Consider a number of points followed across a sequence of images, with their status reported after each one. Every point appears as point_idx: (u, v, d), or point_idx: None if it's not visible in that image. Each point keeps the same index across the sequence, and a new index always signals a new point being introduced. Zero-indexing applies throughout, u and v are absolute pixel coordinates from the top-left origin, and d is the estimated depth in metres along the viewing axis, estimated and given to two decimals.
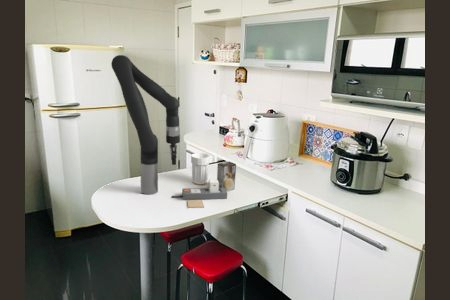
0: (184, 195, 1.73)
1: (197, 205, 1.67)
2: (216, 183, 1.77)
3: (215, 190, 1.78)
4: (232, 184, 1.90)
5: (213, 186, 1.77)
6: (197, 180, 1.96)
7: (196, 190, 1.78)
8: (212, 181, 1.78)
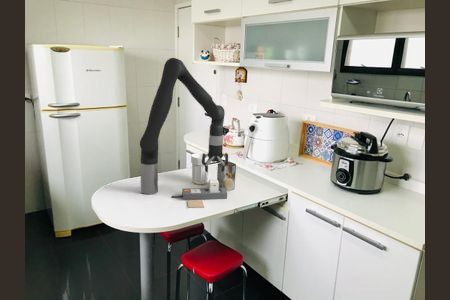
0: (184, 195, 1.73)
1: (197, 205, 1.67)
2: (216, 183, 1.77)
3: (215, 190, 1.78)
4: (232, 184, 1.90)
5: (213, 186, 1.77)
6: (197, 180, 1.96)
7: (196, 190, 1.78)
8: (212, 181, 1.78)
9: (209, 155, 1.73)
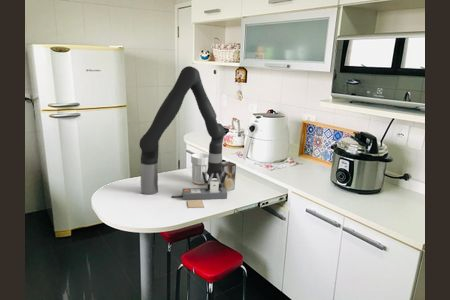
0: (184, 195, 1.73)
1: (197, 205, 1.67)
2: (216, 183, 1.77)
3: (215, 190, 1.78)
4: (232, 184, 1.90)
5: (213, 186, 1.77)
6: (197, 180, 1.96)
7: (196, 190, 1.78)
8: (212, 181, 1.78)
9: (208, 172, 1.75)
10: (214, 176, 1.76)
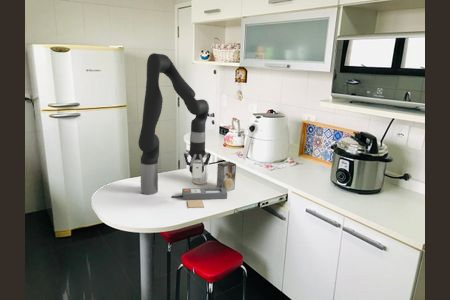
0: (184, 195, 1.73)
1: (197, 205, 1.67)
2: (199, 165, 1.62)
3: (199, 173, 1.63)
4: (232, 184, 1.90)
5: (196, 168, 1.62)
6: (197, 180, 1.96)
7: (196, 190, 1.78)
8: (195, 163, 1.63)
9: (190, 153, 1.60)
10: (197, 157, 1.62)
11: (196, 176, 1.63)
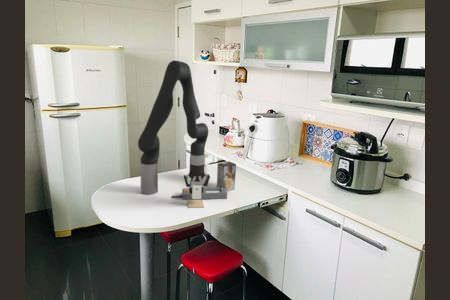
0: (184, 195, 1.73)
1: (197, 205, 1.67)
2: (199, 187, 1.65)
3: (198, 195, 1.66)
4: (232, 184, 1.90)
5: (195, 190, 1.65)
6: None
7: None
8: (194, 185, 1.66)
9: (190, 175, 1.64)
10: (196, 179, 1.65)
11: (196, 197, 1.66)
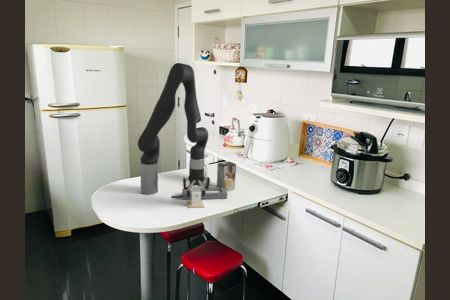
0: (184, 195, 1.73)
1: (197, 205, 1.67)
2: (198, 193, 1.66)
3: (198, 201, 1.67)
4: (232, 184, 1.90)
5: (195, 196, 1.66)
6: None
7: None
8: (194, 191, 1.67)
9: (190, 179, 1.64)
10: (197, 183, 1.65)
11: (195, 204, 1.67)
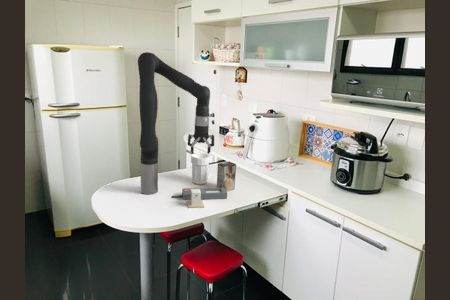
0: (184, 195, 1.73)
1: (197, 205, 1.67)
2: (198, 193, 1.66)
3: (198, 201, 1.67)
4: (232, 184, 1.90)
5: (195, 196, 1.66)
6: (197, 180, 1.96)
7: None
8: (194, 191, 1.67)
9: (195, 136, 1.72)
10: (202, 141, 1.73)
11: (195, 204, 1.67)
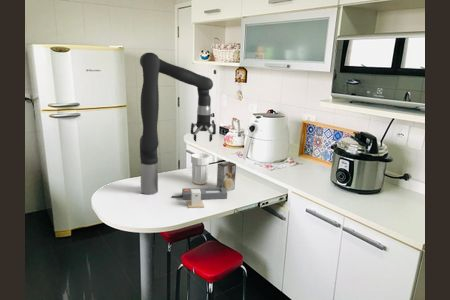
0: (184, 195, 1.73)
1: (197, 205, 1.67)
2: (198, 193, 1.66)
3: (198, 201, 1.67)
4: (232, 184, 1.90)
5: (195, 196, 1.66)
6: (197, 180, 1.96)
7: None
8: (194, 191, 1.67)
9: (197, 125, 1.82)
10: (204, 129, 1.83)
11: (195, 204, 1.67)
